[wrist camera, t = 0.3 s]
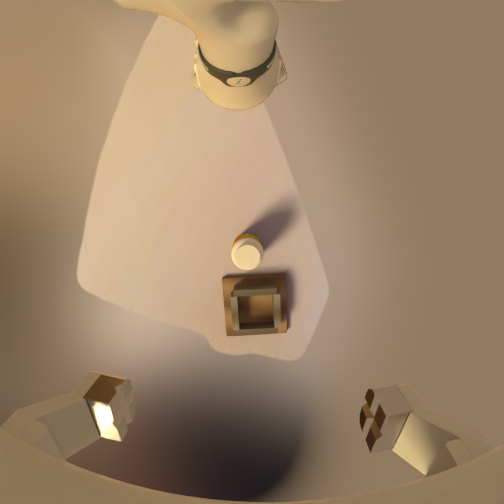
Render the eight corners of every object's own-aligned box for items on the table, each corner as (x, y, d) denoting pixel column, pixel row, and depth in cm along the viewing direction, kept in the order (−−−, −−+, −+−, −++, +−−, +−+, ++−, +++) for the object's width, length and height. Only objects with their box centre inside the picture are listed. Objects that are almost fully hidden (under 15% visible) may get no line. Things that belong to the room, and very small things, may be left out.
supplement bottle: (258, 230, 55) (261, 237, 45) (263, 258, 55) (267, 270, 46) (230, 236, 55) (227, 243, 45) (235, 263, 55) (233, 277, 46)
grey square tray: (222, 277, 56) (220, 283, 52) (285, 273, 56) (288, 279, 52) (227, 334, 58) (226, 343, 54) (286, 330, 58) (288, 339, 54)
